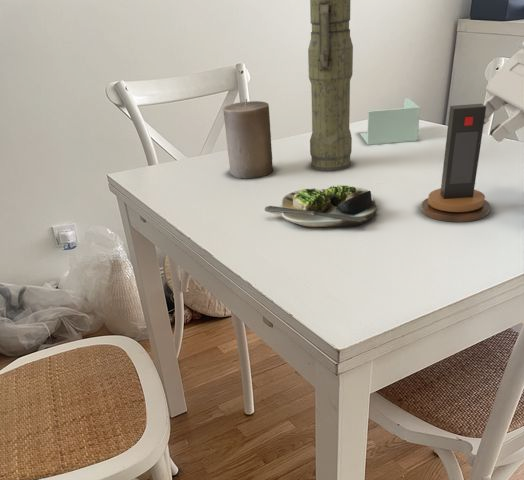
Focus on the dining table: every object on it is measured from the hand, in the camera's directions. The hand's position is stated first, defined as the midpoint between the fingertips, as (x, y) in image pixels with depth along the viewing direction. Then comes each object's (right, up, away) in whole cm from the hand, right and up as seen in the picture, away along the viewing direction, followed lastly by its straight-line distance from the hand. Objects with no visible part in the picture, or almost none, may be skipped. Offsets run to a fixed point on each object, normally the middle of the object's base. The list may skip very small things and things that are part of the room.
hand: (484, 130), depth 85 cm
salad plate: (-23, -10, +11) cm, 27 cm away
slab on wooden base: (-2, -9, +7) cm, 12 cm away
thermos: (-20, +6, +35) cm, 41 cm away
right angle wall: (-3, +19, +51) cm, 55 cm away
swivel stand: (-2, -11, +7) cm, 13 cm away
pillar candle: (-37, +5, +35) cm, 51 cm away
